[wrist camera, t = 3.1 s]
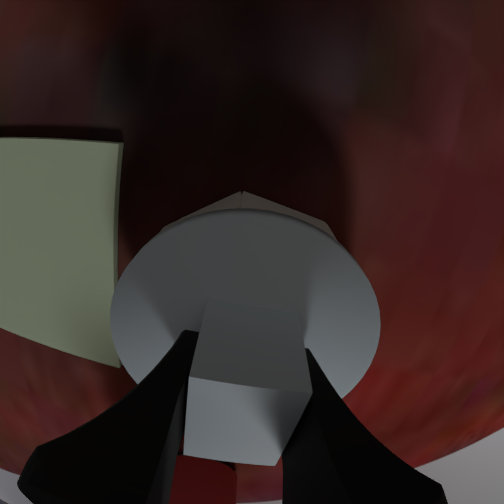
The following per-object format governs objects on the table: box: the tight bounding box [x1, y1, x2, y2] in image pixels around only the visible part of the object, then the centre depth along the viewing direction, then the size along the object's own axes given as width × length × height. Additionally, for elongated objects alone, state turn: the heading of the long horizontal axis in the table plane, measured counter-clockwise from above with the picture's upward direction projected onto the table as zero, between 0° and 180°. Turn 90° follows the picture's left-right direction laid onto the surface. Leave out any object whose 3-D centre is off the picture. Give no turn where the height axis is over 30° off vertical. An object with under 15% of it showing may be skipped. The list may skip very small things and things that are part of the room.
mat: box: [0, 137, 124, 368], centre depth 14 cm, size 12×12×1 cm
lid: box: [110, 208, 380, 466], centre depth 10 cm, size 10×10×4 cm
